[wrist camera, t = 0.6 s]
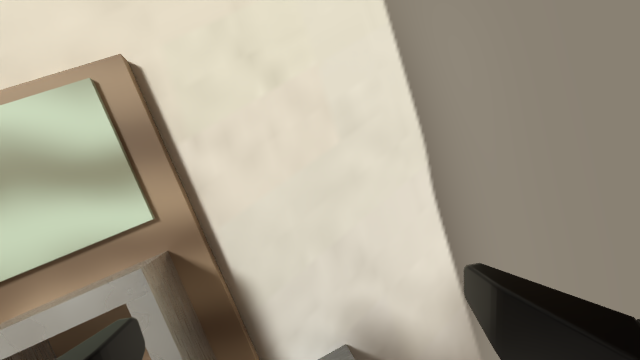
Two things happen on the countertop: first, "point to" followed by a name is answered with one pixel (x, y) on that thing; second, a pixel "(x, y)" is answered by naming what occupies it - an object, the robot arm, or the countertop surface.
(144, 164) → the stand board
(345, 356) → the steel key
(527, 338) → the robot arm
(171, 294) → the socket
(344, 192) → the countertop surface
